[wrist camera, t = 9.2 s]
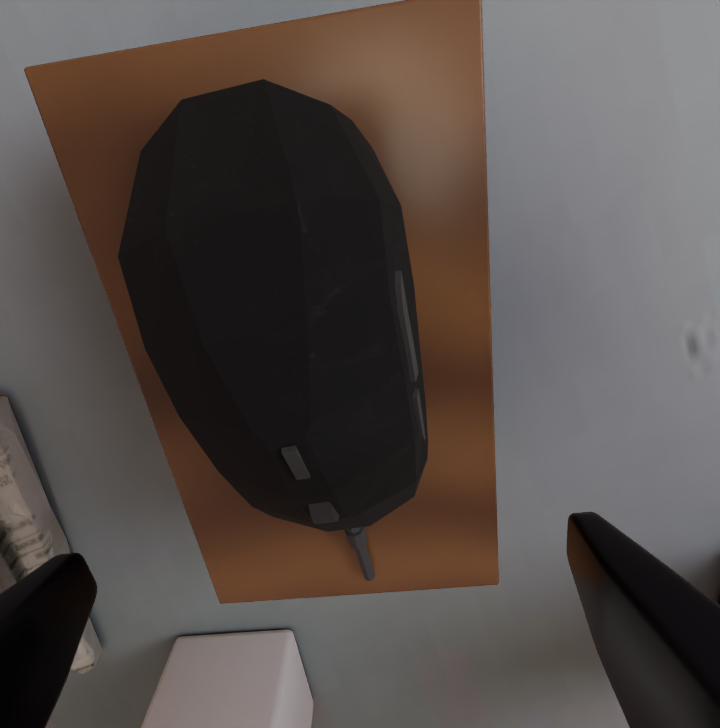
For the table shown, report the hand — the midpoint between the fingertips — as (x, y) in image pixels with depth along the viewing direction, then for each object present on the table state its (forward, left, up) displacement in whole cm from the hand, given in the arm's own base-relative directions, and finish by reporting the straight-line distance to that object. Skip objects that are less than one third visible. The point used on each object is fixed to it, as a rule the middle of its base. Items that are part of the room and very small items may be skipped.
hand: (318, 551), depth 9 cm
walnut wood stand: (+1, +1, -13) cm, 13 cm away
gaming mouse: (+1, +1, -6) cm, 6 cm away
